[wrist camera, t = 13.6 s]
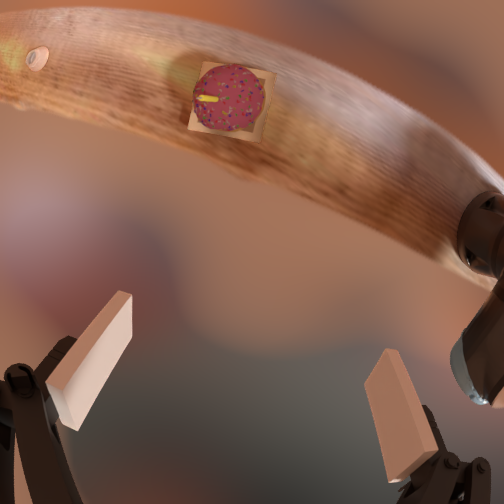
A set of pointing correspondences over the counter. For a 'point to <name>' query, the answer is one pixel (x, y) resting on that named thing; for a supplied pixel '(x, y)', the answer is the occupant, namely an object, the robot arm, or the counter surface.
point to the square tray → (250, 132)
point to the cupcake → (228, 98)
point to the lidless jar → (37, 58)
